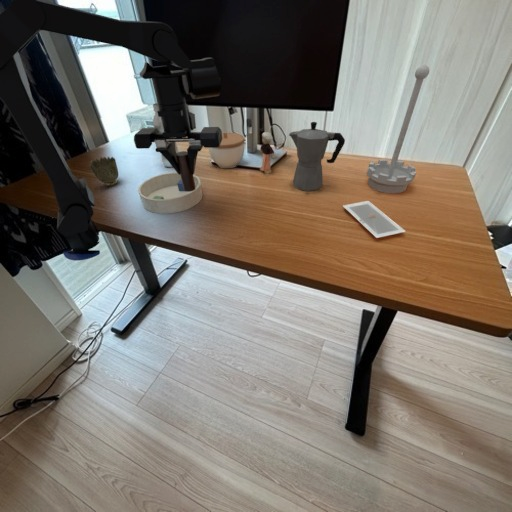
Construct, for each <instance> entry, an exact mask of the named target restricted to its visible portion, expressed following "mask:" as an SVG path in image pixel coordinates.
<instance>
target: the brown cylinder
mask: <svg viewBox="0 0 512 512" xmlns="http://www.w3.org/2000/svg"><path fill="white" fill-rule="evenodd" d="M176 157H177V162H178V166H179V171H180V175H181V179H182V184H183V188H184V191H187V192H190V191H193V190H195V189H196V187H195V182H194V177H193V175H192V173H191V170H190V164H189V159H188V153H187V150H186V151H182V150H181V151H179V152H178V153H176Z"/></svg>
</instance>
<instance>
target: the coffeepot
mask: <svg viewBox="0 0 512 512" xmlns="http://www.w3.org/2000/svg"><path fill="white" fill-rule="evenodd" d="M317 125H318V122H316V121H312V122H310V128H304V129H300V130H297V131H296V130H295V131H291V132H289V134H288V136H289V137H290V138H291V140H292V142H293V144H294V145H295V148H296V156H297V159H298V160H297V163H296V167H295V171H294V175H293V180H292V184H293V187H294V188H295V189H297V190H300V191H304V192H312V191H313V192H315V191H317V190H319V189H320V188H322V187H323V183H324V182H323V181H324V180H323V165H322V160H323V159H324V157H325V154H326V151H327V147H328V145H329V144H328V143H329V142H332V141H337V144H336V145H335V150H334V151H333V152H332V154H331V155H332V156H331V158H330V159H326V163H328V164H334V163H335V162H336V160H337V158H338V156H339V154H340V153H341V150H342V149H343V147H344V145H345V144H346V139H345V137H344V136H343V134H342V133H341V132H332V131H331V132H328V131H327V130H324V129H319V128H317Z"/></svg>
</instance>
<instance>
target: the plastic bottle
mask: <svg viewBox="0 0 512 512" xmlns="http://www.w3.org/2000/svg"><path fill="white" fill-rule="evenodd" d="M152 107H153V108H152V109H153V112H154V115H153V119H152V125H153V128H157V129H158V130H159V133H163V132H164V128H163V124H162V120H161V117H159V116H158V112H157V111H158V110H159V107H158V103H157V102H155V103H153V104H152ZM172 138H176V137H172ZM175 150H176V153H178V152H180V151H179V148H178V145H177V142H175ZM160 154H161V153H160ZM160 157H161V162H162V164H163V165H164V166H165V167H166V168H173V167H172V165H171V164H170V163H169V161H168V160H167V159H166V158H165V157H164V156H163V155H162V154H161V156H160Z"/></svg>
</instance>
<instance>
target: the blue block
mask: <svg viewBox="0 0 512 512" xmlns="http://www.w3.org/2000/svg"><path fill="white" fill-rule="evenodd" d="M177 185H178V189H179V191H184V188H183V184H182V180H180V181H179V182H178V183H177ZM186 192H187V191H186Z"/></svg>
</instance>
